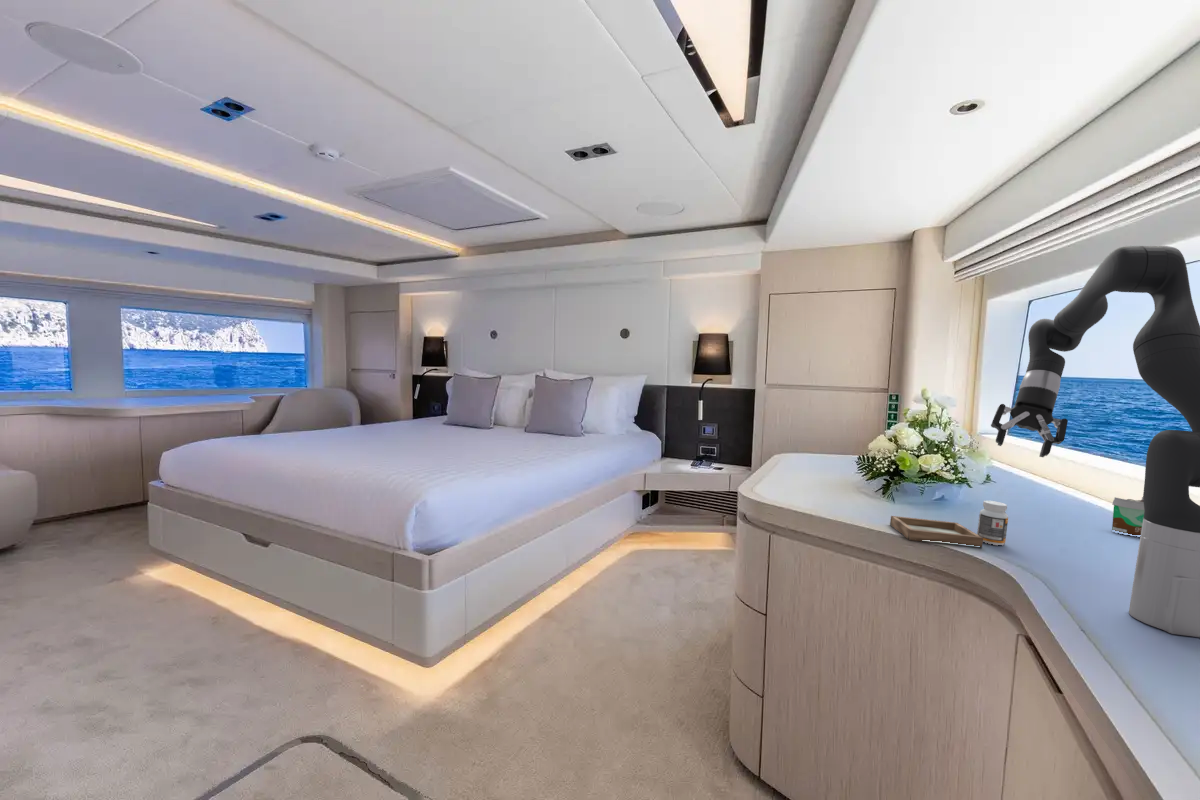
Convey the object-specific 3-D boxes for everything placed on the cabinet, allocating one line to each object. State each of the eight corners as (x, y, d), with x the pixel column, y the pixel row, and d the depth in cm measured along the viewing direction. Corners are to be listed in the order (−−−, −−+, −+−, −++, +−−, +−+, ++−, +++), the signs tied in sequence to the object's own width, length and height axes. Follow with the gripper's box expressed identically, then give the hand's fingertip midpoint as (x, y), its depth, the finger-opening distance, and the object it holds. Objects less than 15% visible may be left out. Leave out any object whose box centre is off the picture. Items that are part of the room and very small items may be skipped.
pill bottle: (1009, 547, 126) (1015, 507, 125) (983, 544, 127) (988, 504, 126) (997, 540, 132) (1002, 501, 131) (971, 537, 133) (976, 498, 132)
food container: (1135, 540, 140) (1141, 503, 139) (1108, 532, 146) (1113, 497, 145) (1166, 538, 143) (1172, 503, 143) (1138, 531, 149) (1143, 496, 148)
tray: (981, 548, 124) (983, 537, 124) (909, 540, 127) (910, 529, 126) (955, 532, 136) (957, 522, 136) (890, 524, 138) (891, 515, 138)
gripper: (1007, 379, 132) (989, 437, 129) (1079, 394, 125) (1062, 456, 122) (1000, 390, 139) (983, 445, 136) (1068, 405, 132) (1052, 464, 129)
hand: (1020, 450), depth 129 cm, fingers open, 8 cm apart
